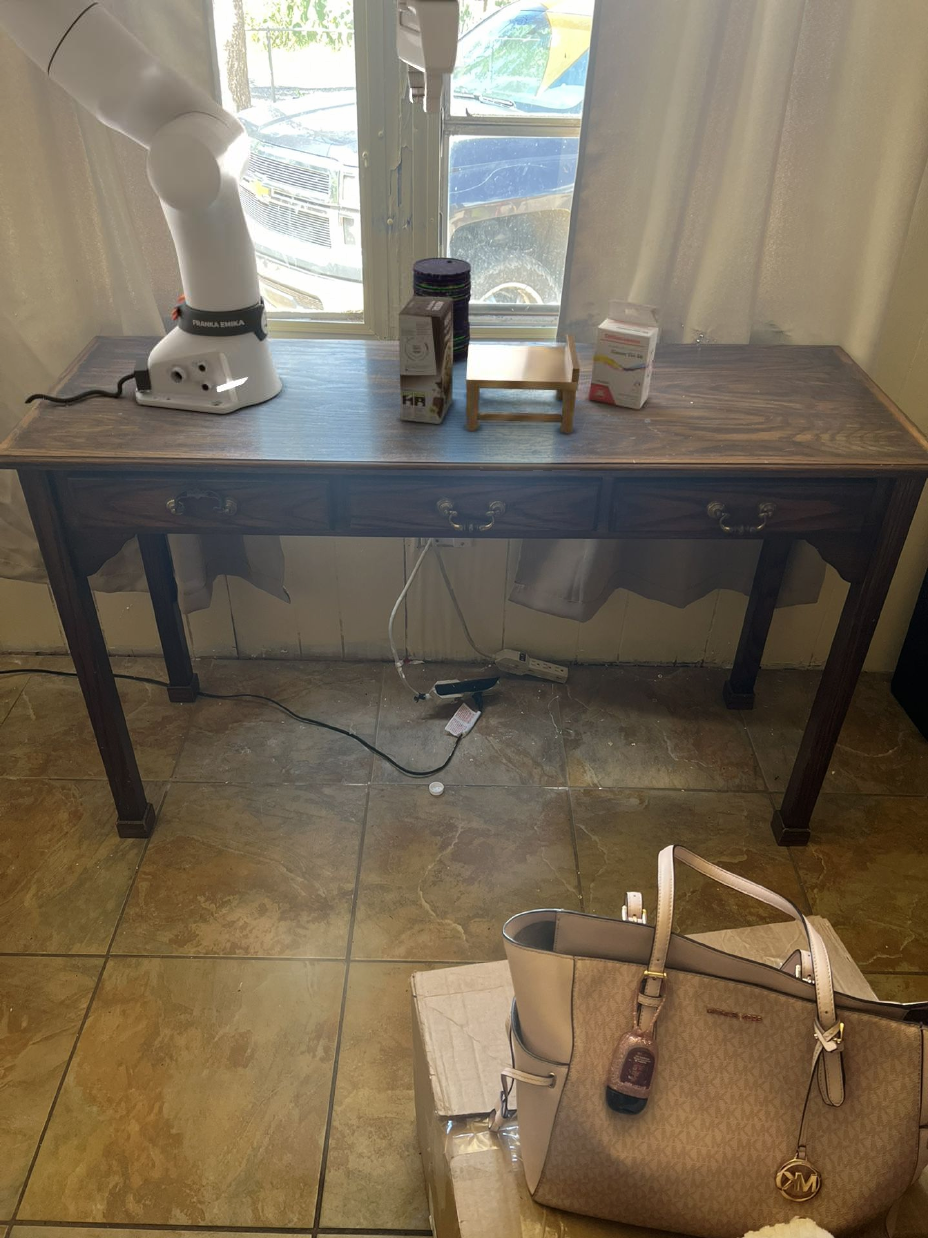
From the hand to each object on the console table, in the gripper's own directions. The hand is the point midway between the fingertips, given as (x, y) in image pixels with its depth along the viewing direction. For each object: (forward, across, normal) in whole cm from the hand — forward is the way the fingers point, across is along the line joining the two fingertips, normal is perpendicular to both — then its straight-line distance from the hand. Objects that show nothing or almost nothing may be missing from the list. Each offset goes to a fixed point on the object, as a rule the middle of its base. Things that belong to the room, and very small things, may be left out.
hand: (424, 107), depth 115 cm
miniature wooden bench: (+40, +7, +13) cm, 43 cm away
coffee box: (+40, +4, -1) cm, 41 cm away
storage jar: (+40, -19, +7) cm, 45 cm away
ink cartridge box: (+40, +6, +30) cm, 51 cm away
